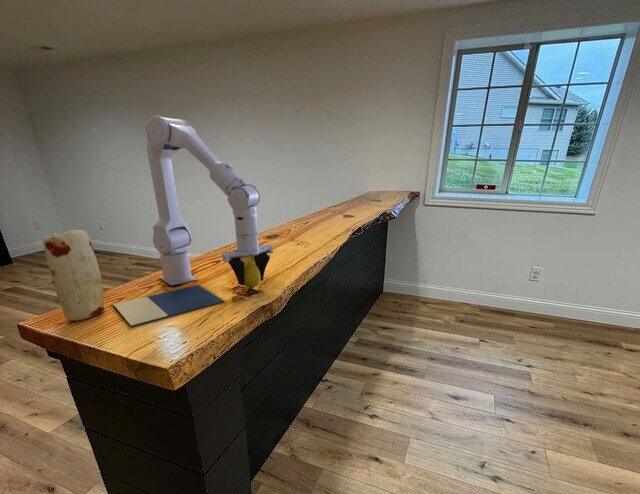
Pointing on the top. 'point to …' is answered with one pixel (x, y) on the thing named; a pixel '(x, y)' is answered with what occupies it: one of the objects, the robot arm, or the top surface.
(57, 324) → the top surface
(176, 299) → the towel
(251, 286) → the lemon
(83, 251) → the food model
